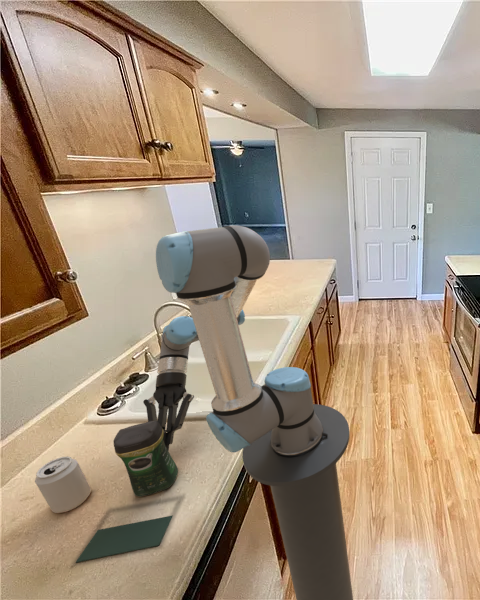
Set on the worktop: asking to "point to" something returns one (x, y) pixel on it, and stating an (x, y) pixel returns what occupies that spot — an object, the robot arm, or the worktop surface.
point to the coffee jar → (146, 458)
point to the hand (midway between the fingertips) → (162, 458)
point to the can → (62, 484)
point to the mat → (125, 538)
